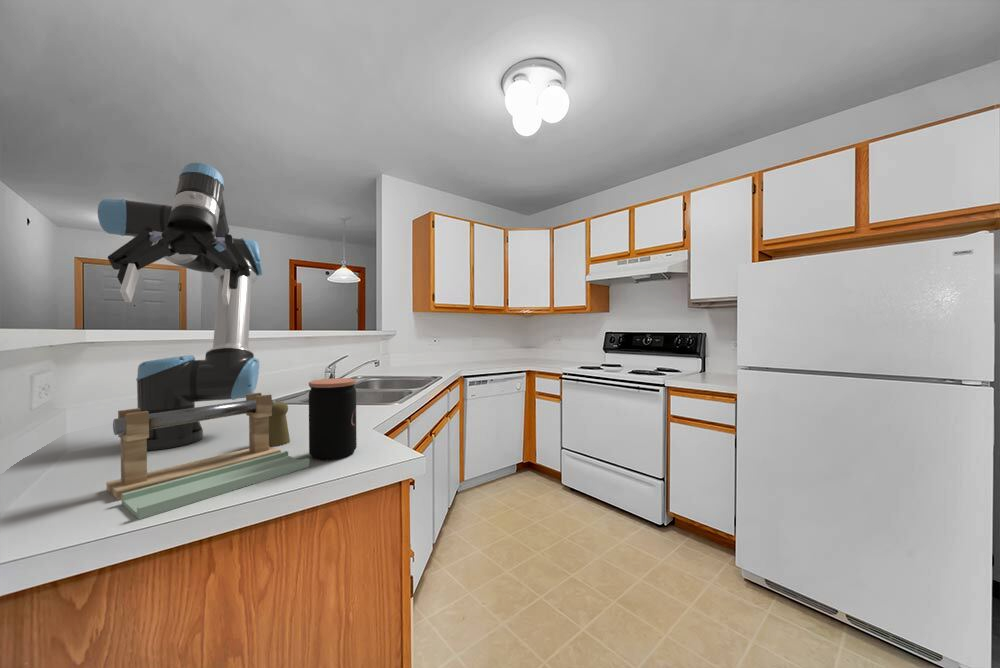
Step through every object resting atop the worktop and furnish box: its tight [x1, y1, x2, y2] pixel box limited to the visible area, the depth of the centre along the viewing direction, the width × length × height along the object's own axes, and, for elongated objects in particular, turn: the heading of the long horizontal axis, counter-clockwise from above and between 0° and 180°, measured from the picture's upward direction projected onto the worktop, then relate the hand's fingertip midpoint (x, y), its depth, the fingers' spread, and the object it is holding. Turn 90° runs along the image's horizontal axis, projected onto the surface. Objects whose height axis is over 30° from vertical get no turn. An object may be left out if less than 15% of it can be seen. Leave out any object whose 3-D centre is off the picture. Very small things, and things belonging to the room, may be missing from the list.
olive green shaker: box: [269, 401, 291, 447], centre depth 101 cm, size 6×6×11 cm
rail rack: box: [106, 392, 282, 501], centre depth 81 cm, size 8×28×15 cm, turn 146°
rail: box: [112, 399, 274, 436], centre depth 81 cm, size 27×3×3 cm, turn 146°
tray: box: [121, 450, 310, 521], centre depth 75 cm, size 10×28×2 cm, turn 146°
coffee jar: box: [308, 377, 358, 461], centre depth 92 cm, size 11×11×18 cm
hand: (177, 298), depth 66 cm, fingers open, 13 cm apart
